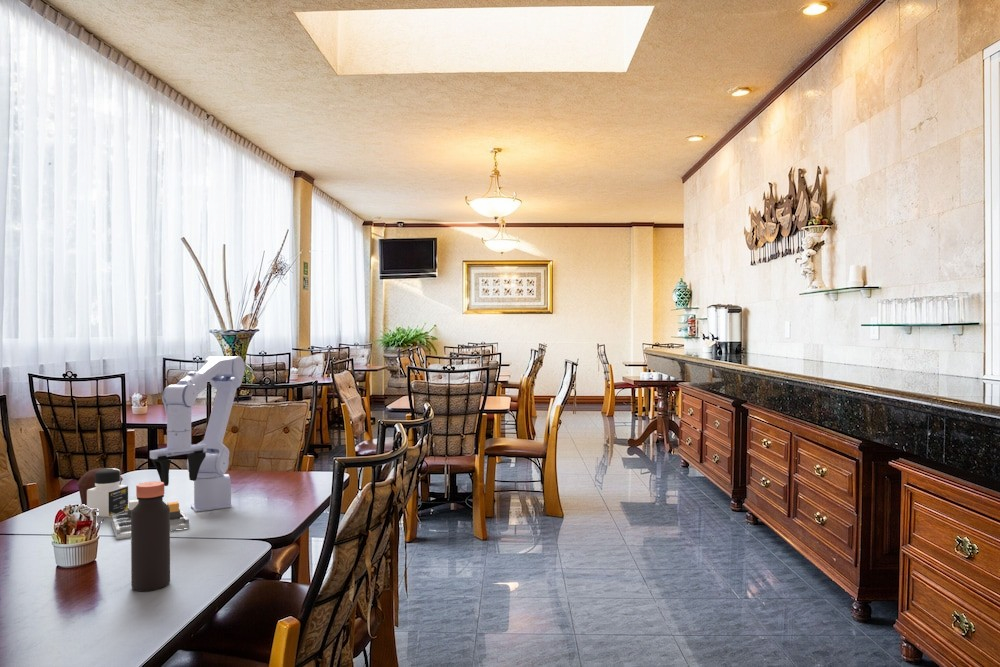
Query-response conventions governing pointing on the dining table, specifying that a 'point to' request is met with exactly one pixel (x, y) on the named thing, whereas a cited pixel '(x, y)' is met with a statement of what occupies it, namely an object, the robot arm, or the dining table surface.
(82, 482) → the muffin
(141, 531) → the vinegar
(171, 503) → the orange fader
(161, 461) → the robot arm
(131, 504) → the white fader
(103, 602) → the dining table surface
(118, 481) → the medicine bottle
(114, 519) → the gray compartment tray
